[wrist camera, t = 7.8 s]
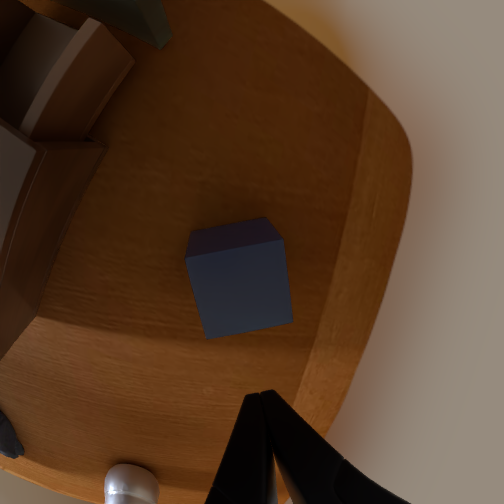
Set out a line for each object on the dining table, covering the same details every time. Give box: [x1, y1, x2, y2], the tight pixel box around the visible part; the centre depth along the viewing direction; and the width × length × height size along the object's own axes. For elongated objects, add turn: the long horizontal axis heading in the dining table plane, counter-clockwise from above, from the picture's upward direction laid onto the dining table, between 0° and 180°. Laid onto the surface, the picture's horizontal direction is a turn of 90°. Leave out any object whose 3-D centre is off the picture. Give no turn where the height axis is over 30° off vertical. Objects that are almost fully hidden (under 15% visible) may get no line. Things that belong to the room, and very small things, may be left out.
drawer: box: [0, 0, 173, 142], centre depth 10 cm, size 18×11×7 cm, turn 144°
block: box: [185, 217, 293, 339], centre depth 17 cm, size 5×5×5 cm
